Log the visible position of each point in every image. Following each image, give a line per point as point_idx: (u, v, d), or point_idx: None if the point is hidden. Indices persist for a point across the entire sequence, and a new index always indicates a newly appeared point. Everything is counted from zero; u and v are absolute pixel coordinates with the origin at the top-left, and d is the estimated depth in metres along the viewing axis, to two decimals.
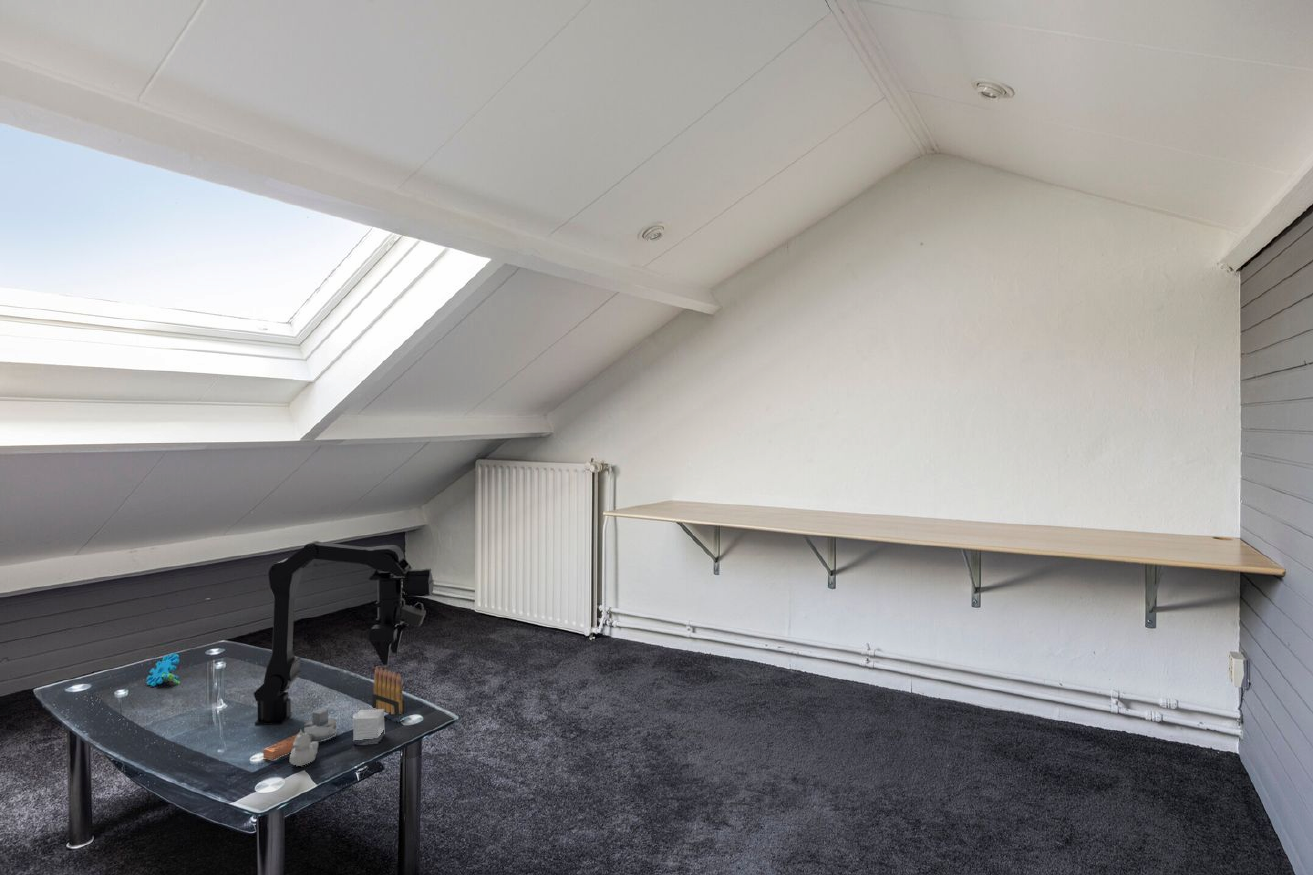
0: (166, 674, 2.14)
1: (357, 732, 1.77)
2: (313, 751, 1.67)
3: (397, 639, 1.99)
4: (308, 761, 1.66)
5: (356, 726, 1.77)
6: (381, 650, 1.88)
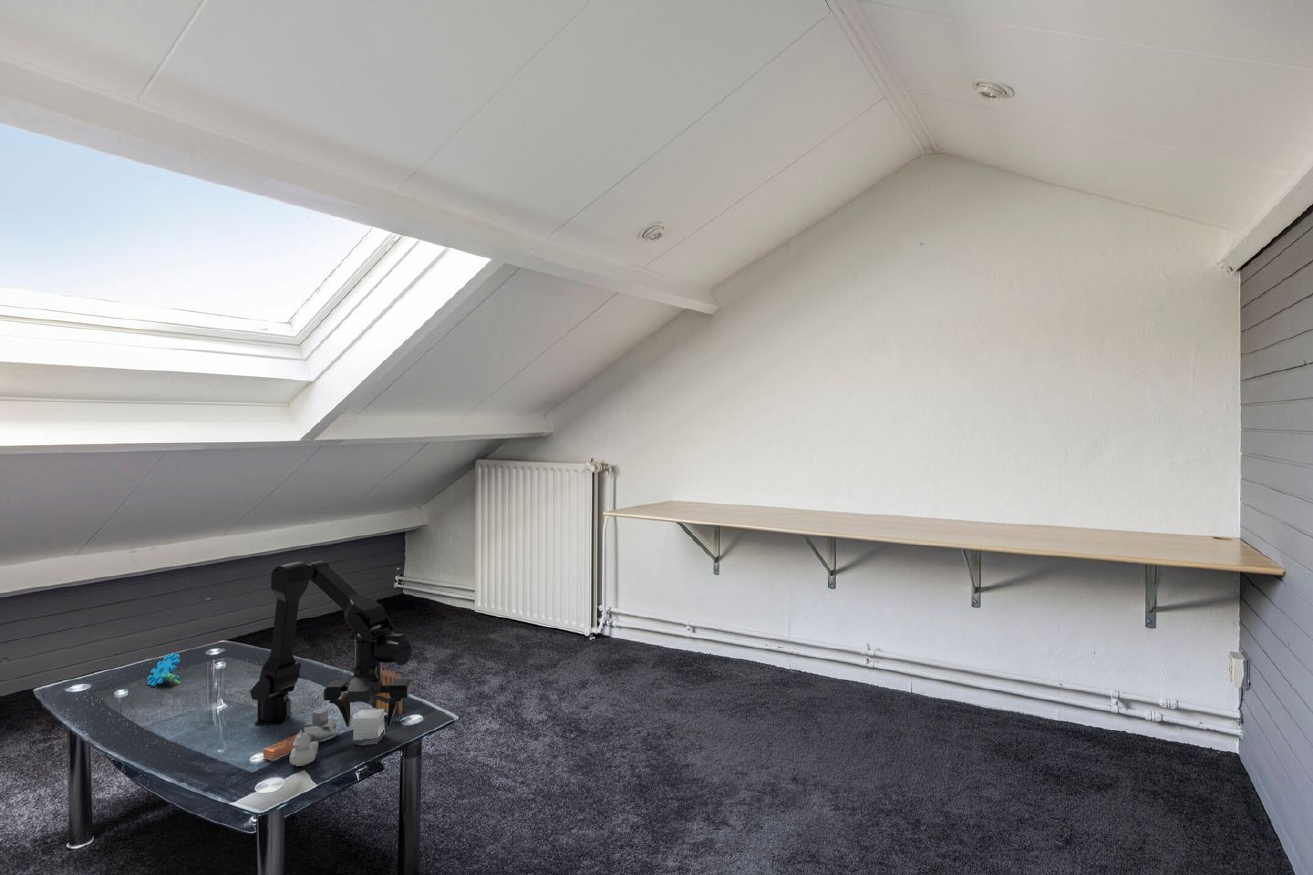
0: (166, 674, 2.14)
1: (357, 732, 1.77)
2: (313, 751, 1.67)
3: None
4: (308, 761, 1.66)
5: (356, 726, 1.77)
6: None
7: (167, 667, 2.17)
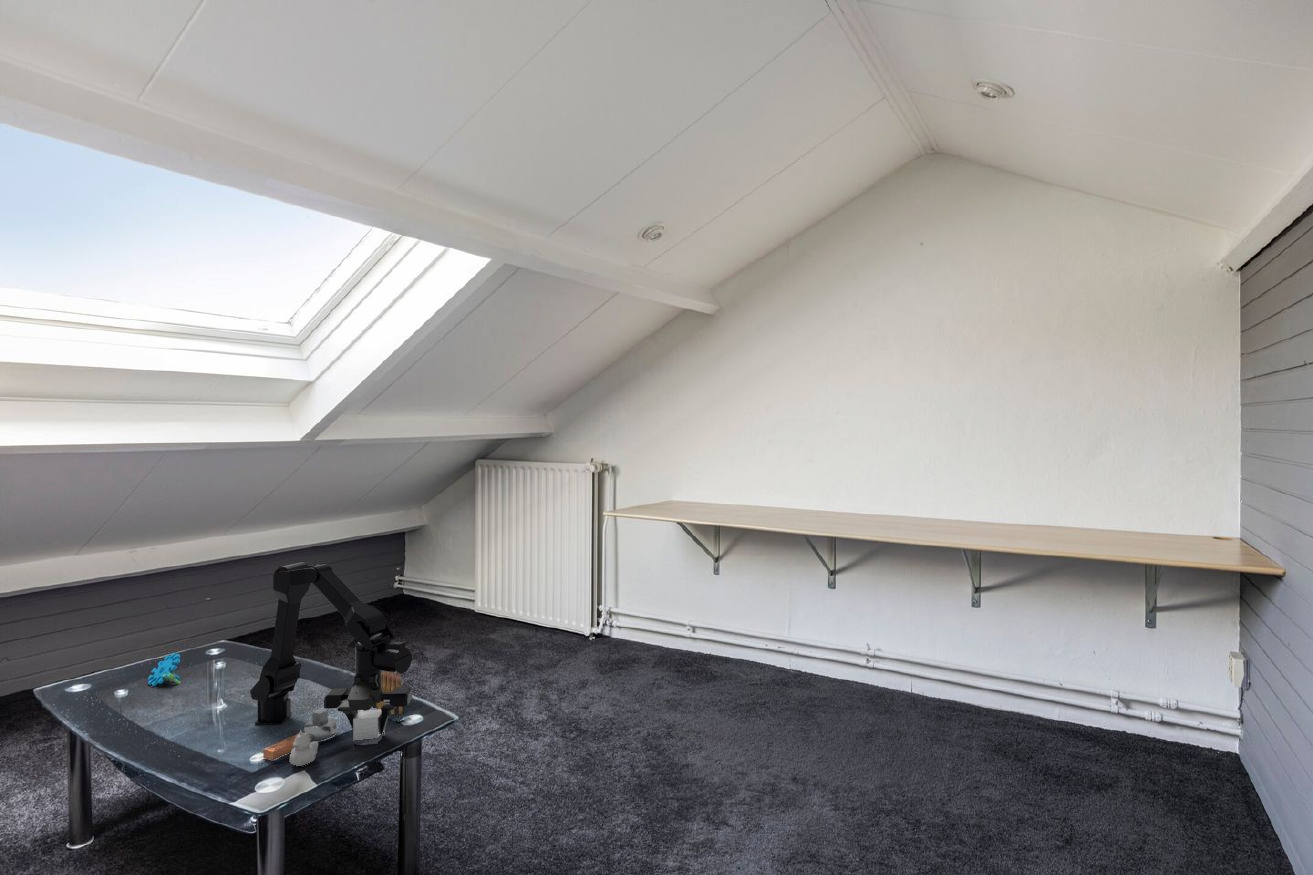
0: (167, 674, 2.15)
1: (357, 732, 1.77)
2: (313, 751, 1.67)
3: None
4: (308, 761, 1.66)
5: (356, 726, 1.77)
6: None
7: (167, 667, 2.17)
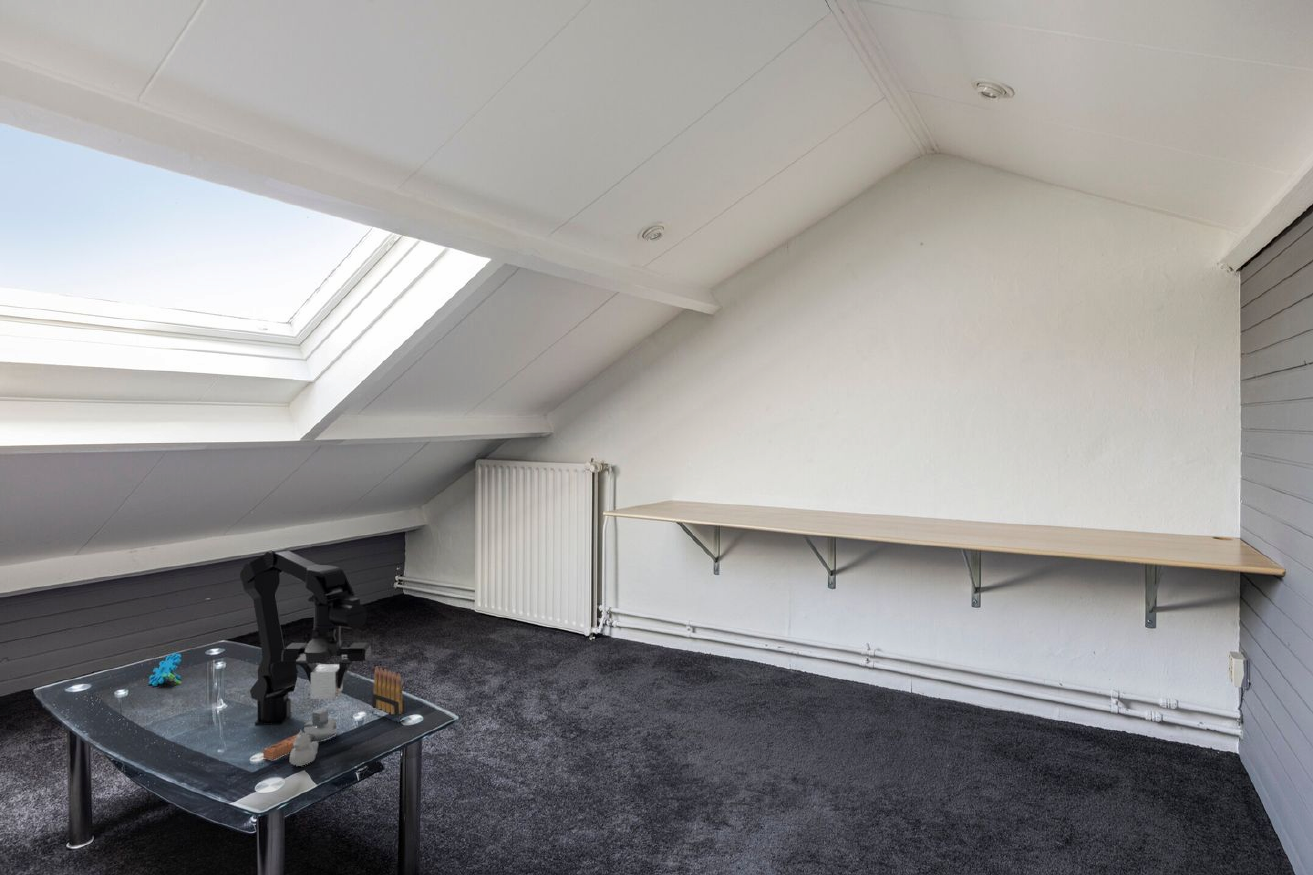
0: (167, 674, 2.15)
1: (314, 686, 1.79)
2: (313, 751, 1.67)
3: None
4: (308, 761, 1.66)
5: (314, 680, 1.79)
6: None
7: (168, 667, 2.17)
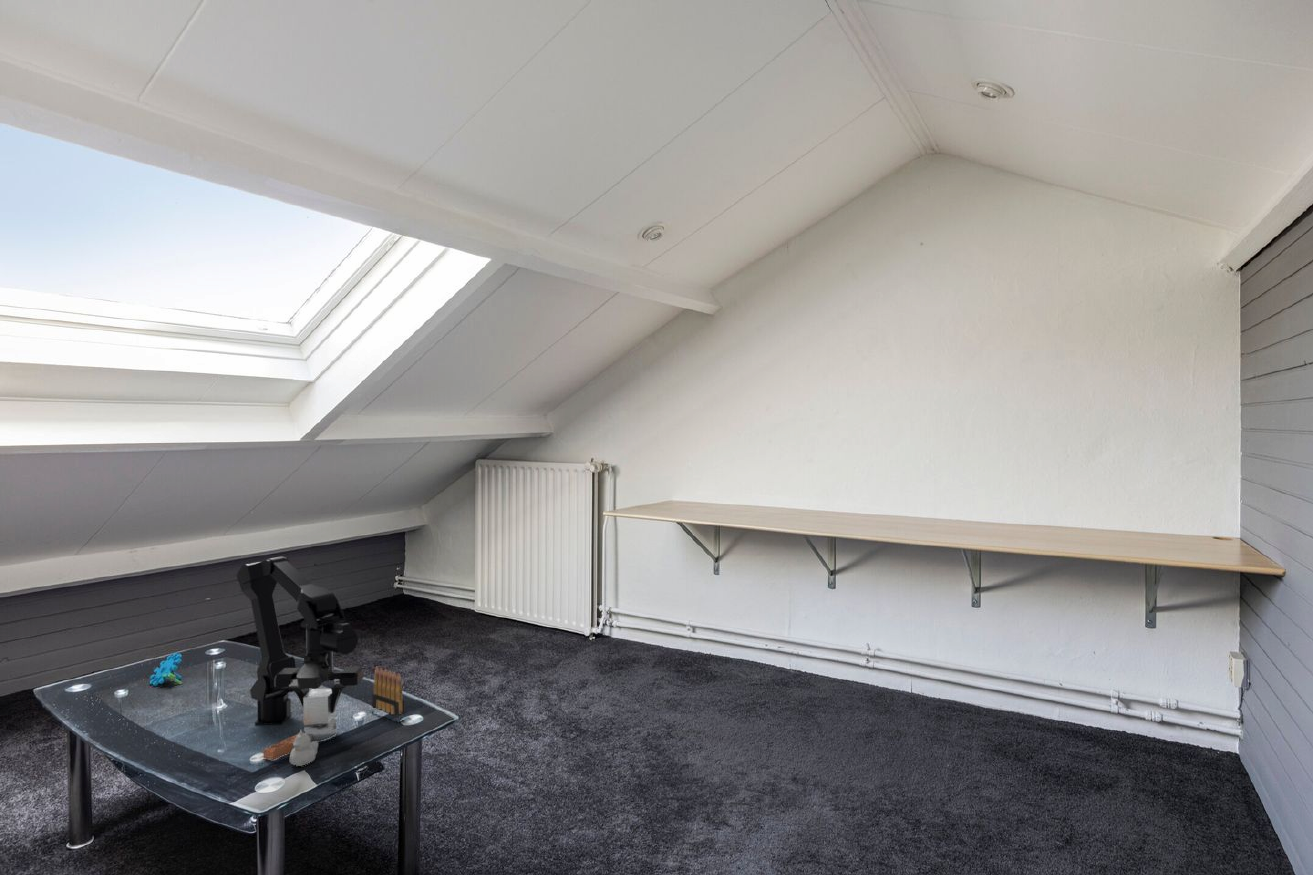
0: (167, 674, 2.15)
1: (307, 711, 1.79)
2: (313, 751, 1.67)
3: None
4: (308, 761, 1.66)
5: (306, 705, 1.79)
6: None
7: (169, 667, 2.17)
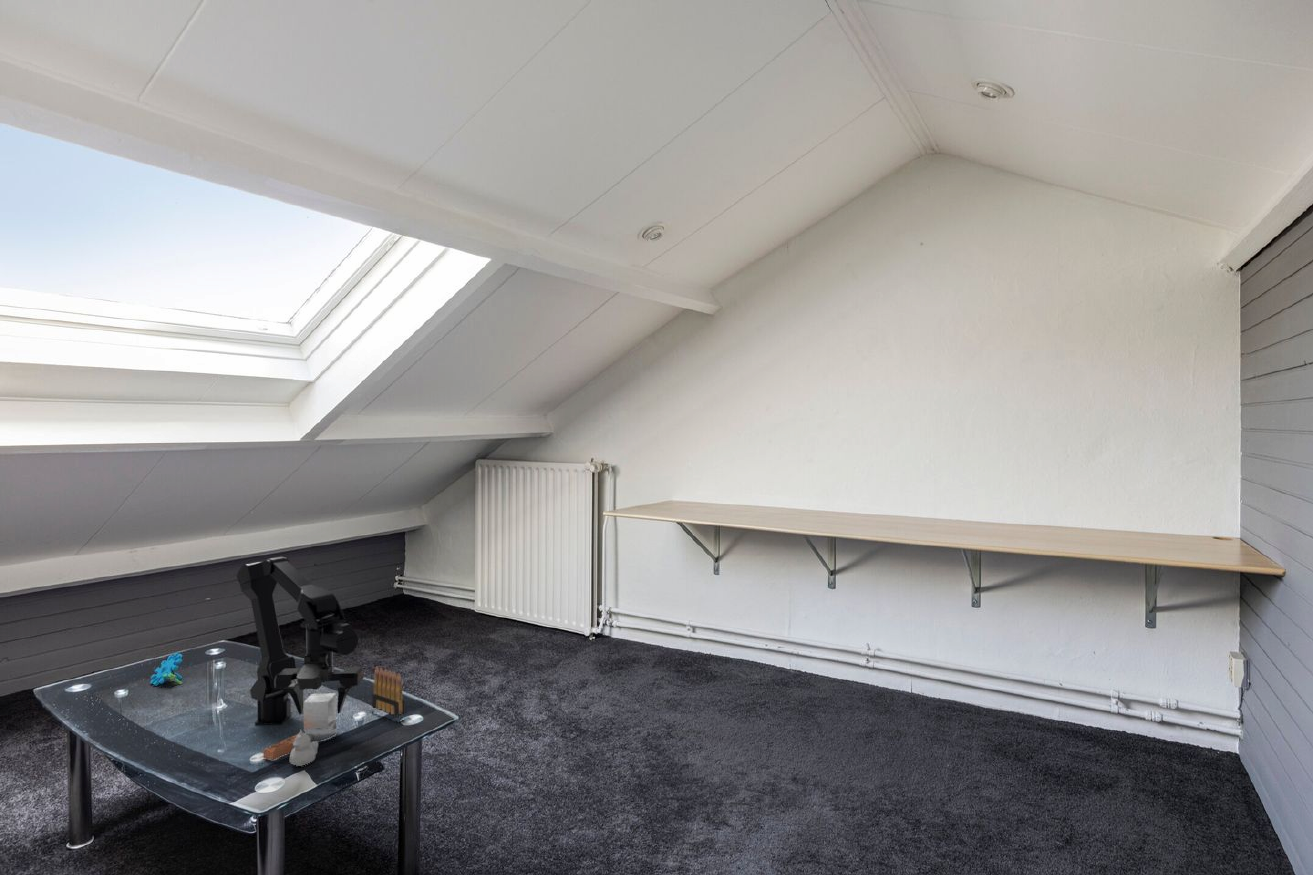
0: (168, 674, 2.15)
1: (307, 715, 1.79)
2: (313, 751, 1.67)
3: None
4: (308, 761, 1.66)
5: (307, 710, 1.79)
6: None
7: (169, 667, 2.17)
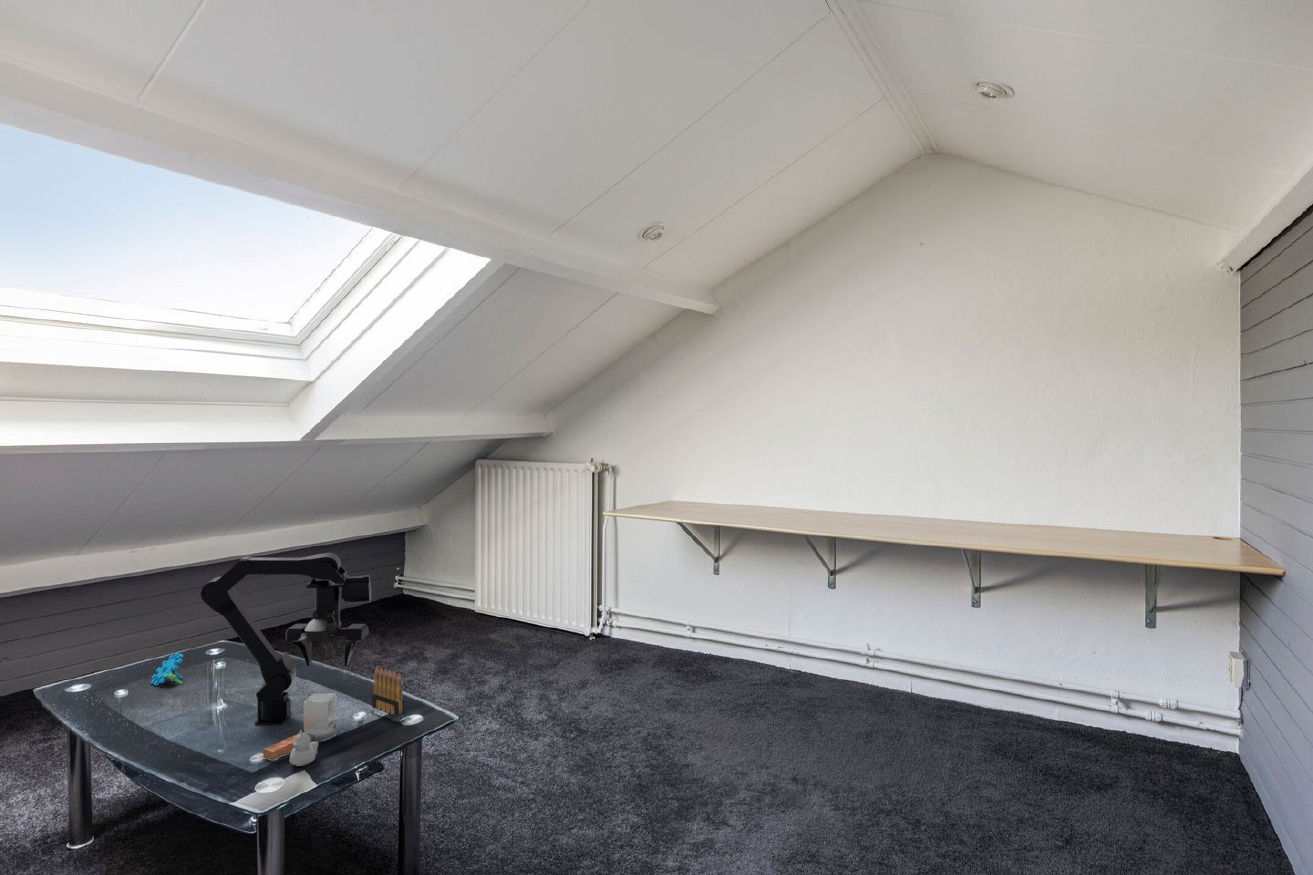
0: (168, 674, 2.15)
1: (307, 715, 1.79)
2: (313, 751, 1.67)
3: None
4: (308, 761, 1.66)
5: (307, 710, 1.79)
6: None
7: (170, 667, 2.17)
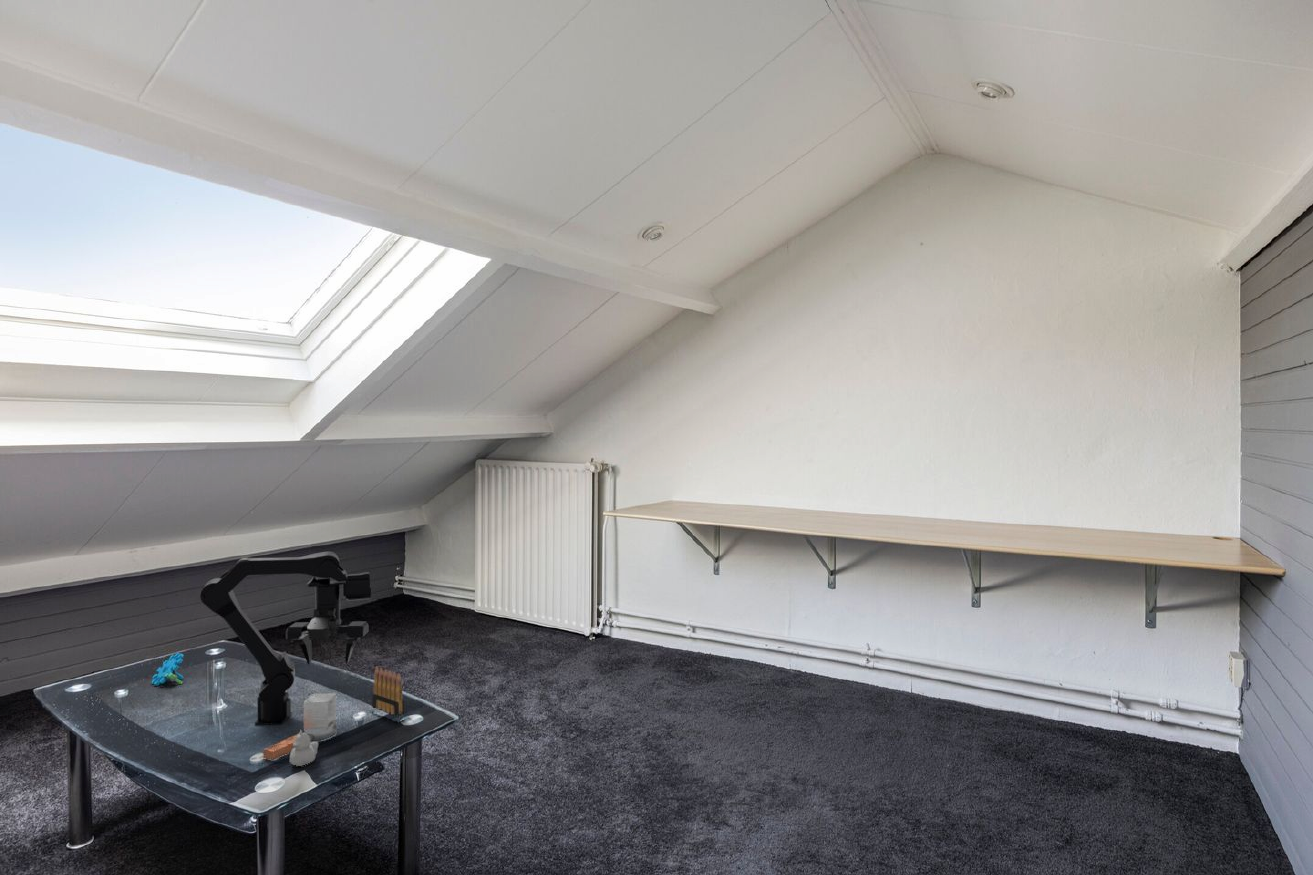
0: (168, 674, 2.15)
1: (307, 715, 1.79)
2: (313, 751, 1.67)
3: None
4: (308, 761, 1.66)
5: (307, 710, 1.79)
6: None
7: (170, 667, 2.17)
